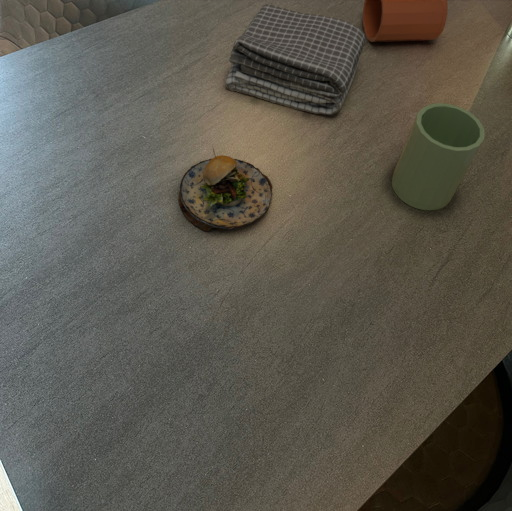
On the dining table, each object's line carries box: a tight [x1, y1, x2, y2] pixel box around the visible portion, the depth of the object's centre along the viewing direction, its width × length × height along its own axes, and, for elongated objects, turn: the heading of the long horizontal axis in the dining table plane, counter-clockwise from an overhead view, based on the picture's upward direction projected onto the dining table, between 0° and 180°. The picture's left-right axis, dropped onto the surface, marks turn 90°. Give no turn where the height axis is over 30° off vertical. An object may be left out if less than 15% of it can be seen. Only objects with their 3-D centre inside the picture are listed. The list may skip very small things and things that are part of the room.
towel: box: [224, 3, 368, 116], centre depth 93 cm, size 15×18×8 cm
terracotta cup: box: [362, 0, 449, 43], centre depth 102 cm, size 8×8×11 cm
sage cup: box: [391, 102, 485, 211], centre depth 81 cm, size 8×8×11 cm
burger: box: [178, 145, 273, 232], centre depth 77 cm, size 12×12×8 cm
